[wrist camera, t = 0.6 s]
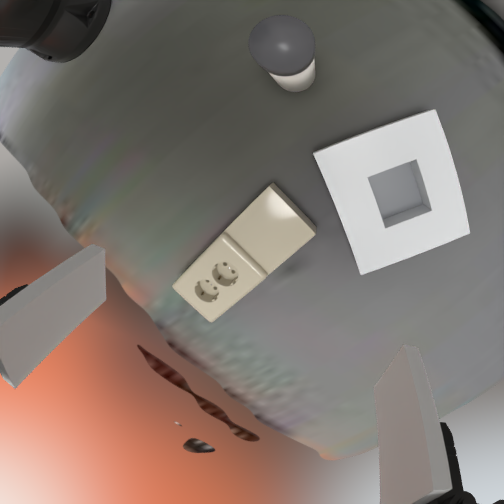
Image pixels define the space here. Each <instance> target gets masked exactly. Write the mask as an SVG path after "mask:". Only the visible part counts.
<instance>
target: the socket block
mask: <svg viewBox="0 0 504 504" xmlns="http://www.w3.org/2000/svg"><path fill="white" fill-rule="evenodd" d="M313 155H314V157H315V159H316V161H317V163H318V166H319V168H320V170H321V173H322V175H323V177H324V180H325V182H326V184H327V187H328V189H329V191H330V194H331V196H332V199H333V201H334V204H335V206H336V209H337V211H338V214H339V216H340V219H341V221H342V224H343V227H344V229H345V232H346V235H347V237H348V240H349V243H350V245H351V248H352V251H353V254H354V257H355V259H356V262H357V265H358V268H359V271H360V274H361V275H363V274H366V273H368V272H371V271H374V270H377V269H380V268H382V267H385V266H388V265H391V264H393V263H396V262H399V261H401V260H404V259H407V258H409V257H412V256H415V255H417V254H420V253H422V252H425V251H427V250H430V249H433V248H435V247H438V246H440V245H443V244H445V243H448V242H450V241H452V240H455V239H457V238H460V237H462V236H465V235H467V234H469V233H470V230H469V224H468V219H467V214H466V209H465V205H464V200H463V196H462V192H461V188H460V184H459V180H458V176H457V173H456V169H455V166H454V162H453V159H452V156H451V152H450V149H449V146H448V143H447V140H446V137H445V134H444V131H443V129H442V126H441V123H440V121H439V118H438V115H437V113H436V110H435V109H434V110H429V111H423V112H420V113H417V114H414V115H411V116H408V117H405V118H402V119H399V120H397V121H394V122H391V123H388V124H385V125H382V126H380V127H377V128H374V129H371V130H369V131H366V132H363V133H360V134H358V135H355V136H353V137H350V138H347V139H345V140H342V141H340V142H337V143H334V144H332V145H329V146H327V147H324V148H322V149H319V150H317V151H315V152H313Z"/></svg>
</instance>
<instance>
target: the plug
mask: <svg viewBox="0 0 504 504" xmlns="http://www.w3.org/2000/svg"><path fill="white" fill-rule="evenodd" d="M249 50H250V53H251V55H252V57H253V58H254V59H255V61H256V62H257V63H258V64H259V65H260V66H261V67H262V68H263V69H264V70H266V71H267V72H269V74H270V75H271V76H272V77H273V78H274V80H275V81H276V82H277V83H278V84H279V86H281V87H282V88H283V89H285V90H287V91H290V92H301V91H304V90H306V89H308V88H309V87H310V86H311V85H312V84H313V82H314V80H315V61H314V57H315V39H314V35H313V33H312V31H311V29H310V28H309V27H308V26H307V25H306V24H305V23H304V22H303V21H301V20H300V19H297V18H295V17H292V16H287V15H276V16H271V17H268V18H266V19H264V20H262V21H261V22H259V23H258V24H257V25H256V26H255V27H254V29H253V30H252V32H251V34H250V37H249Z"/></svg>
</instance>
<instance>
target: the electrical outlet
mask: <svg viewBox="0 0 504 504" xmlns="http://www.w3.org/2000/svg"><path fill="white" fill-rule="evenodd" d="M315 235H316V226H315V225H314V224H313V223H312V222H311V221H310V220H309V218H308V217H307V216H306V215H305V214H304V213H303V212H302V211H301V210H300V209H299V208H298V207H297V206H296V205H295V204H294V203H293V202H292V201H291V200H290V199H289V198H288V197H287V196H286V195H285V194H284V193H283V192H282V191H281V190H280V189H279V188H278V187H277V186H276V185H275V184H274V183H273V182H272V183H271V184H270V185H269V186H268V187H267V188H266V189H265V190H264V191H263V192H262V193H261V194H260V195H259V196H258V197H257V198H256V199H255V200H254V201H253V202H252V203H251V204H250V205H249V206H248V207H247V208H246V209H245V210H244V211H243V212H242V213H241V214H240V215H239V216H238V217H237V218H236V219H235V220H234V221H233V222H232V223H231V224H230V225H229V226H228V227H227V228H226V229H225V230H224V231H223V232H222V233H221V234H220V235H219V237H218V238H217V239H216V240H215V241H214V242H213V243H212V244H211V245H210V246H209V247H208V248H207V249H206V250H205V251H204V252H203V253H202V254H201V255H200V256H199V257H198V258H197V259H196V260H195V261H194V262H193V263H192V264H191V265H190V267H189V268H188V269H187V270H186V271H185V272H184V273H183V274H182V275H181V276H180V277H179V278H178V279H177V280H176V281H175V283H174V284H173V286H172V287H173V289H174V290H175V291H177V292H178V293H179V294H180V295H181V296H182V297H183V298H184V299H185V300H186V301H187V302H188V303H189V304H190V305H191V306H193V307H194V308H195V309H196V310H197V311H198V312H199V313H200V314H201V315H202V316H203V317H205V318H206V319H207V320H208V321H209V322H213V321H214V320H216V319H217V318H218V317H219V316H221V315H222V314H223V313H224V312H226V311H227V310H228V309H229V308H230V307H232V306H233V305H234V304H235V303H237V302H238V301H239V300H240V299H241V298H243V297H244V296H245V295H246V294H248V293H249V292H250V291H251V290H252V289H254V288H255V287H256V286H257V285H258V284H260V283H261V282H262V281H263V280H264V279H266V278H267V276H268V275H269V274H270V273H271V272H272V271H274V270H275V269H276V268H277V267H278V266H279V265H281V264H282V263H283V262H284V261H285V260H287V259H288V258H289V257H290V256H291V255H292V254H294V253H295V252H296V251H297V250H298V249H299V248H301V247H302V246H303V245H304V244H305V243H306V242H308V241H309V240H310V239H311V238H312V237H313V236H315Z"/></svg>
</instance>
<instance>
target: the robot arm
mask: <svg viewBox="0 0 504 504" xmlns="http://www.w3.org/2000/svg"><path fill="white" fill-rule="evenodd" d="M110 3H111V0H0V47H18V48H26V49H27V50H29V51H31V52H33V53H34V54H36V55H38V56H39V57H41V58H43V59H44V60H47V61H51V62H67V61H70V60H72V59H74V58H75V57H77V56H78V55H80V54H81V53H82V52H83V51H84V50H85V49H86V48H87V47H88V46H89V45H90V44H91V43H92V42H93V40H94V39H95V38H96V36H97V35H98V33H99V32H100V30H101V28H102V27H103V25H104V23H105V20H106V18H107V15H108V12H109V9H110ZM105 300H106V281H105V249H104V248H102V247H99V246H97V245H94V244H91V245H90V246H88V247H86V248H85V249H83V250H81V251H80V252H78V253H77V254H75V255H74V256H72V257H70V258H69V259H67V260H66V261H64V262H63V263H61V264H60V265H58V266H57V267H55V268H54V269H52V270H51V271H49V272H47V273H46V274H45V275H43V276H42V277H40V278H39V279H37V280H36V281H34V282H33V283H31V284H30V285H27V284H26V285H23V286H21V287H18V288H15V289H14V290H12V291H11V292H10V293H8V294H7V295H6V297H5V296H4V297H3V298H1V299H0V373H1V375H2V377H3V379H4V380H5V381H7V382H8V383H9V384H10V385H11V386H12V387H13V388H17V386H18V385H19V384H20V383H21V382H22V381H23V380H24V379H25V378H26V377H27V376H28V375H29V374H30V373H31V372H32V371H33V370H34V368H36V367H37V366H38V365H39V364H40V363H41V361H43V360H44V359H45V358H46V356H48V355H49V353H51V352H52V351H53V350H54V349H55V348H56V347H57V346H58V345H59V344H60V343H61V342H62V341H63V340H64V339H65V338H66V337H67V336H68V335H69V334H70V333H71V332H72V331H73V330H74V329H75V328H76V327H77V326H78V325H79V324H81V323H82V322H83V321H84V320H85V319H86V318H87V317H88V316H89V315H90V314H91V313H92V312H93V311H94V310H95V309H96V308H98V307H99V306H100V305H101V304H102V303H103V302H104V301H105ZM373 388H374V397H375V407H376V417H377V430H378V445H379V463H380V464H379V465H380V504H477V503H476V500H475V498H474V497H473V495H472V494H471V493H469V492H466V491H463V486H462V480H461V475H460V469H459V464H458V459H457V456H456V449H455V447H454V441H453V436H452V433H451V431H450V429H449V428H448V426H447V425H446V423H443V422H439V417H438V413H437V409H436V406H435V402H434V398H433V395H432V391H431V387H430V384H429V381H428V377H427V374H426V371H425V367H424V364H423V361H422V358H421V355H420V352H419V349H418V347H414V346H410V345H406V344H403V346H402V347H401V349H400V350H399V352H398V353H397V355H396V356H395V358H394V359H393V361H392V362H391V364H390V365H389V366H388V368H387V369H386V371H385V372H384V374H383V375H382V376H381V378H380V379H379V380H378V382H377V383H376V384H375V386H374V387H373ZM493 504H504V500H499V501H497V502H495V503H493Z"/></svg>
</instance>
